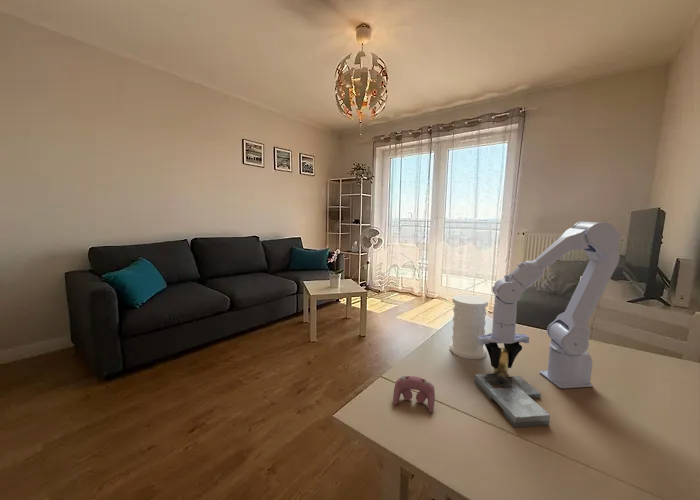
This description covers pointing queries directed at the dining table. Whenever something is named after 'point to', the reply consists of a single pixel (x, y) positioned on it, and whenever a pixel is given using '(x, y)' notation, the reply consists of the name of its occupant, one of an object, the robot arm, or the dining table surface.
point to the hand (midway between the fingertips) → (501, 366)
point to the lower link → (518, 381)
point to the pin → (503, 362)
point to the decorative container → (468, 326)
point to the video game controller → (414, 383)
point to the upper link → (514, 402)
